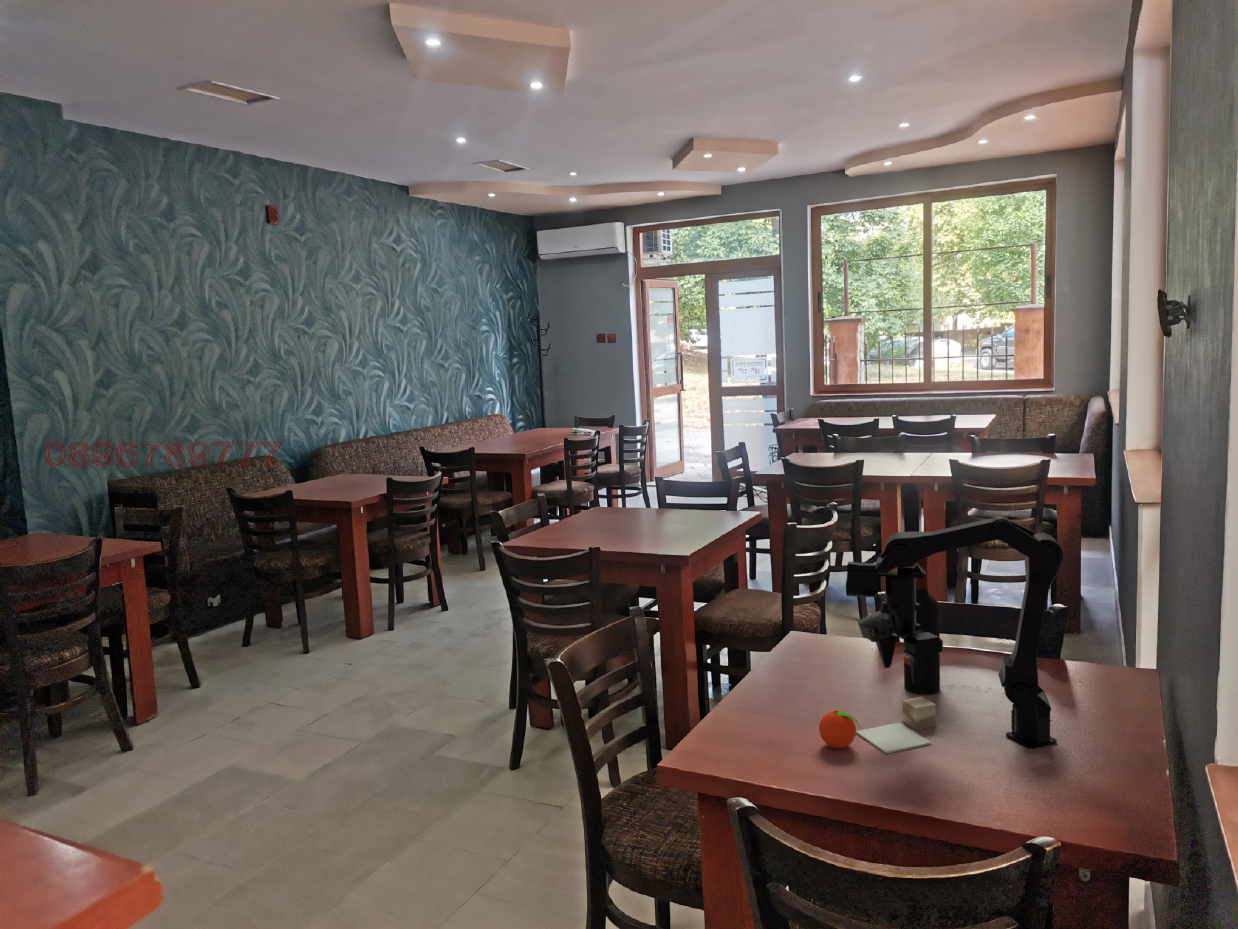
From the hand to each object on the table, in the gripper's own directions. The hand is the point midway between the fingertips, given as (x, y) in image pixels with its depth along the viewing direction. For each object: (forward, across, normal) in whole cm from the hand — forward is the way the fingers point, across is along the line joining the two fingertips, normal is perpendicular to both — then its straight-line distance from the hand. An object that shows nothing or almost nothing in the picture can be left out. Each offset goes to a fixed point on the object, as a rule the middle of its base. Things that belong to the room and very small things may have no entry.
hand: (901, 675), depth 173 cm
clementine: (+12, +2, -15) cm, 19 cm away
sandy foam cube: (+11, -1, +5) cm, 12 cm away
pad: (+11, +3, -4) cm, 12 cm away
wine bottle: (+11, -16, +17) cm, 26 cm away
